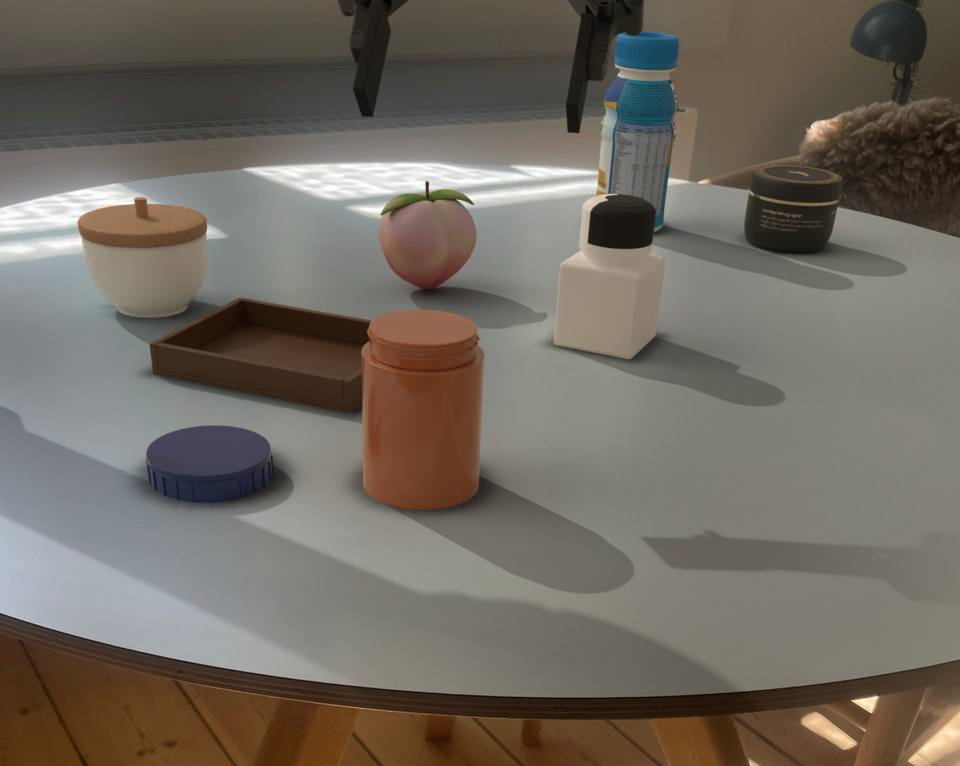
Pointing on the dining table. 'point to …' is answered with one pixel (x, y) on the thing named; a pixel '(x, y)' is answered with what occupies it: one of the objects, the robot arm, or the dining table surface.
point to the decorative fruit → (427, 236)
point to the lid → (209, 463)
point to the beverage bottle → (640, 120)
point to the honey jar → (422, 409)
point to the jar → (791, 208)
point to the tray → (270, 353)
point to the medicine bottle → (611, 280)
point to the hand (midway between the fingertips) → (466, 111)
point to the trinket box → (146, 256)
